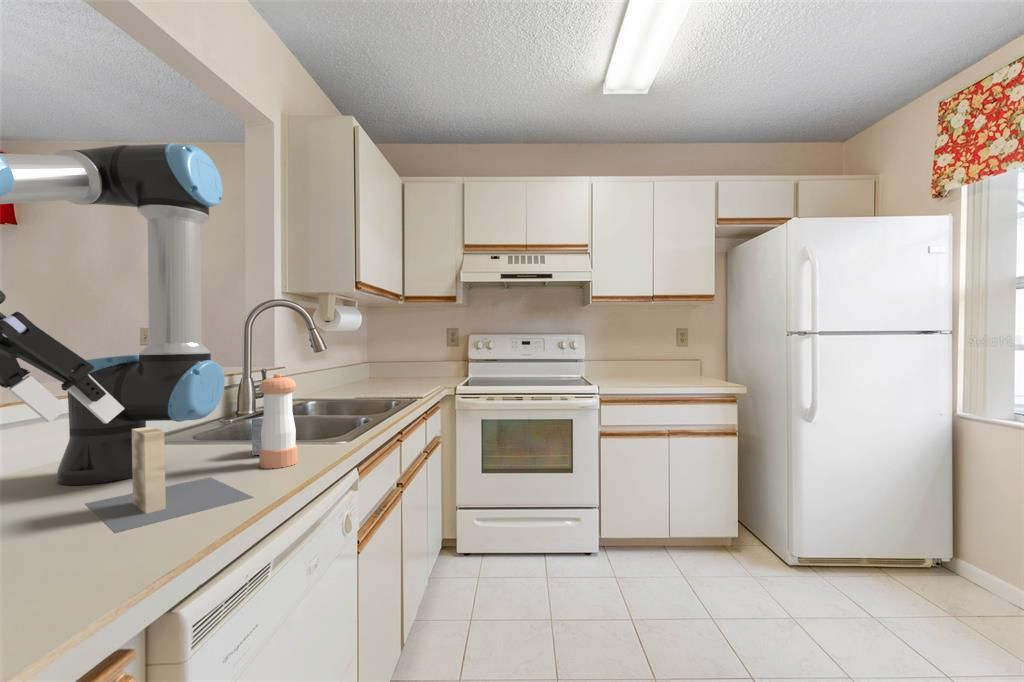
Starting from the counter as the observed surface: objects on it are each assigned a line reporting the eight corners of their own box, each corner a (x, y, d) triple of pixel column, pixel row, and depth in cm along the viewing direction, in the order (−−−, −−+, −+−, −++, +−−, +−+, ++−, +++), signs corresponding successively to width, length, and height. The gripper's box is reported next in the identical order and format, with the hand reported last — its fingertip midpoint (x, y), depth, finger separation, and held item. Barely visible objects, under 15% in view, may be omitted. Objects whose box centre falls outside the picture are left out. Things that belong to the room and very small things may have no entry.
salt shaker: (288, 457, 106) (286, 371, 106) (304, 463, 102) (302, 373, 101) (253, 465, 101) (252, 374, 100) (269, 470, 96) (267, 375, 96)
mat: (85, 505, 77) (85, 503, 77) (210, 478, 91) (210, 477, 91) (115, 535, 65) (115, 532, 65) (253, 499, 79) (253, 497, 79)
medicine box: (268, 457, 107) (268, 418, 107) (251, 456, 108) (250, 418, 108) (291, 448, 115) (291, 413, 115) (275, 448, 116) (274, 412, 116)
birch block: (133, 503, 77) (131, 429, 76) (152, 499, 78) (150, 426, 78) (145, 513, 72) (144, 434, 72) (165, 508, 74) (164, 431, 74)
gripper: (-144, 314, 57) (10, 434, 69) (-44, 296, 47) (115, 438, 59) (-71, 281, 62) (60, 396, 74) (32, 258, 53) (164, 395, 65)
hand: (85, 415), depth 67 cm, fingers open, 13 cm apart
